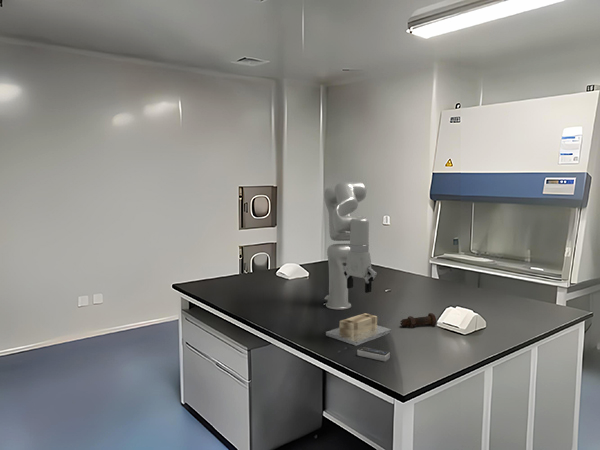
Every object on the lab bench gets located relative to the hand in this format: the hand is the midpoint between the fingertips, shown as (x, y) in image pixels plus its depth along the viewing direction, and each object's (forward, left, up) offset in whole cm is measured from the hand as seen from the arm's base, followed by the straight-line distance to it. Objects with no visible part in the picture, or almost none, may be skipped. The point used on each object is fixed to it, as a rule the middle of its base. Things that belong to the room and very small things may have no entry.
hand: (358, 290), depth 187 cm
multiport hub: (+20, -15, -19) cm, 31 cm away
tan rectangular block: (0, 0, -17) cm, 17 cm away
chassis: (0, 0, -18) cm, 18 cm away
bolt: (+11, +26, -19) cm, 34 cm away
